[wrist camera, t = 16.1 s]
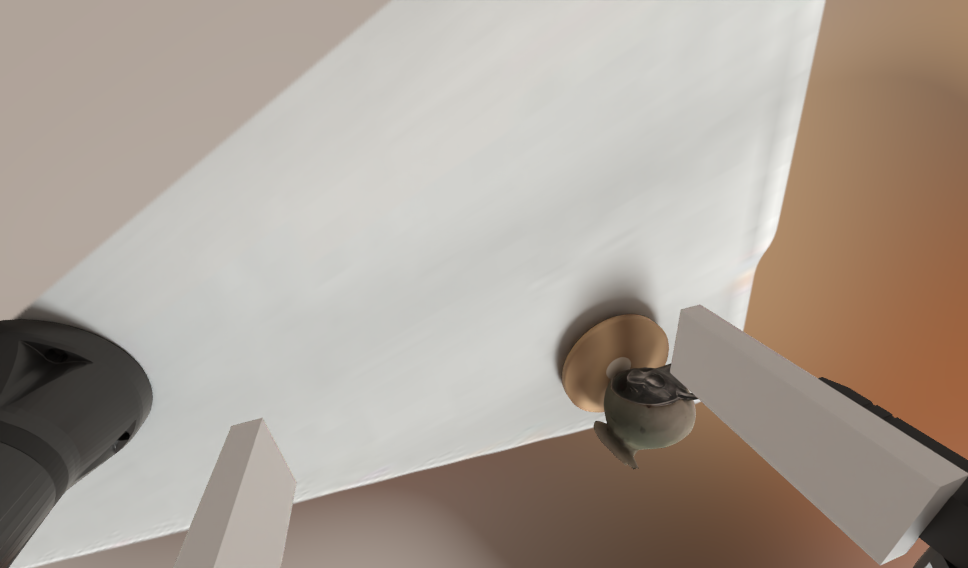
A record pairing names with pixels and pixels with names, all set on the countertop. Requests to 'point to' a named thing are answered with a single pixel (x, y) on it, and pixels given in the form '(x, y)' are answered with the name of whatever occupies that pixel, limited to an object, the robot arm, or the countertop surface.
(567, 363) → the lazy susan
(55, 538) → the countertop surface
